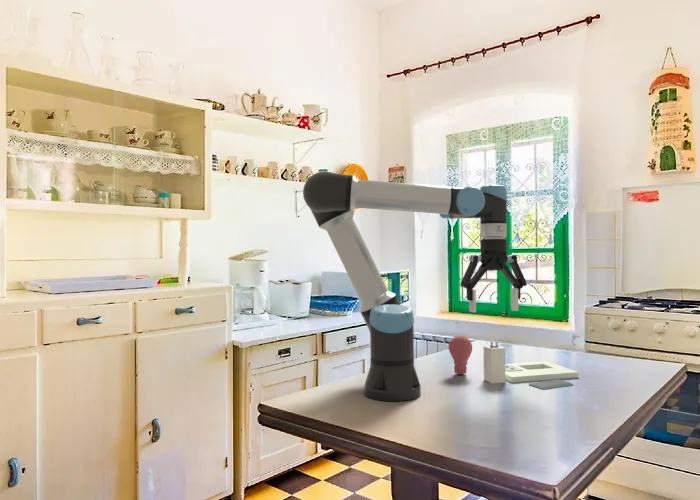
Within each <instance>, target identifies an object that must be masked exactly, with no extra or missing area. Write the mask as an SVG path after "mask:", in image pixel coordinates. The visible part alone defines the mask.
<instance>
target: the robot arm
mask: <svg viewBox="0 0 700 500" xmlns="http://www.w3.org/2000/svg"><path fill="white" fill-rule="evenodd" d="M507 194H508V193H507V188H506V186H505V185H501V184H488V185H487V184H486V185H482V186H481V187H480V188H478V187H475V186H466V187H465V186H464V187H459V186H448V185H447V186H446V185H432V184H420V183H419V184H418V183H410V182H409V183H405V182H395V181H394V182H392V181H380V180H368V179H367V180H366V179H357V177H356V176H355V175H350V174H342V173H335V172H331V171H319V172H316V173H314V174H312V175H311V176H309V178H308V179H307V180H306V182H305V183H304V186H303V189H302V195H303V200H304V203H305V204H306V205H307V207H308V208H309V209H310V211H311V214H312V215H313V217H314V219H315V222H316V223H317V225H318V228H319V229H322V230H325V231H326V232H327V234H328V237H329V238H330V241H331V243H332V245H333V247H334V249H335V251H336V253H337V254H338V257H339V260H340V261H341V263H342V265H343V268H344V269H345V271H346V275H347V276H348V278H349V279H350V281H351V284H352V286H353V288H354V291H355V292H356V293H357V297H358V298H359V300H360V302H361V306H360V310H359V312H360V314H361V316H362V318H363V321H364V323H365V325H366V327H367V328H368V331H369V338H370V342H369V344H370V366H369V370H368V373H367V376H366V379H365V382H364V386H363V387H364V388H363V389H364V390H363V391H364V395H365V397H367V398H369V399H372V400H375V401H383V402H402V401H411V400H414V399H417V398H419V397H420V396H421V394H422V390H421V389H422V388H421V384H420V380H419V377H418V374H417V371H416V368H415V357H414V356H415V353H414V352H415V348H414V347H415V346H414V344H415V343H414V342H415V341H414V333H415V332H414V324H415V318H414V311H413V309H411V308H410V307H409V306H406V305H402V303H400V300H399V298H398V297H397V294H396V293H394V292H392V291H389V290H388V287H387V285H386V283H385V281H384V279H383V277H382V275H381V273H380V271H379V269H378V267H377V264H376V263H375V261H374V259H373V256H372V254H371V253H370V251H369V248H368V246H367V244H366V242H365V240H364V238H363V236H362V234H361V232H360V230H359V227H358V226H357V224H356V222H355V219H354V214H355V211H356V210H355V208H356V209H366V210H367V209H369V210H383V211H396V212H399V211H400V212H410V213H411V212H412V213H422V214H423V213H424V214H439V217H440V218H442V219H449V220H453V219H480V221H479V223H480V238H481V240H480V245H479V246H480V255H476V254H472V255H470V256H469V257H470V260H469V263H468V265H467V268H466V270H465V273H464V274H463V278H462V279H461V280H460V281H461V282H460V285H459V286H460V287H461V288H464V289H466V301H468V302H469V303H468V311H469V312H471V313H477V290H476V289H474V288H475V287H476V286H477V284H478V283H479V282H480V280H481V279H482V277H483V276H484V275H485V273H487V272H488V271H501V272H502V274H503V275H504V276H505V278H506V279H507V280H508V282H509V283H510V285H512V286H513V287H511V288H510V310H511V311H514V312H515V311H516V312H517V311H519V300H521V289H523V287H526V286H527V285H528V283H527V281H526V279H525V277H524V274H523V272H522V269H521V268H520V266H519V263H518V258H517V257H518V256H517V255H516V254H509V255H507V251H508V241H507V239H506V237H508V236H507V235H508V225H507V224H508V223H507V222H508V221H507V220H508V218H507V217H508V215H507V214H508V211H507V209H508V198H507V197H508V196H507ZM479 262H481V264H480V266H479V267H478V269H477V270H476V268H477V265H478V264H479ZM507 262H508V263H509V266H510V268H511V270H512V271H511V270H510V268H509V266H508V265H507ZM475 270H476V272H475Z"/></svg>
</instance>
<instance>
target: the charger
mask: <svg viewBox="0 0 700 500" xmlns="http://www.w3.org/2000/svg"><path fill="white" fill-rule="evenodd" d="M505 364H506V347H504V346H501V345H499V341H497V340H496V341H495V345H494V341H490V345H484V346H483V381H486V382H487V383H489V384H493V385H494V384H504V383H506V380H505Z"/></svg>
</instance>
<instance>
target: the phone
mask: <svg viewBox="0 0 700 500" xmlns="http://www.w3.org/2000/svg"><path fill="white" fill-rule="evenodd" d="M528 385H529V386H530V387H534V388H537V389H540V390H544V391H545V390H551V389H556V388H563V387H570V386H571V387H572V386H574V383H572V382H569V381H566V380H563V379H552V380H542V381H535V382H531V383H528Z"/></svg>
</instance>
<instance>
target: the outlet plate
mask: <svg viewBox="0 0 700 500" xmlns="http://www.w3.org/2000/svg"><path fill="white" fill-rule="evenodd" d="M579 377H580V375H579V371H577V370H573V369H570V368H568V367H565V366H561V365H559V364H556V363H553V362H550V361H548V360H547V361H546V360H545V361H531V362H530V361H529V362H521V363H520V362H518V363H505V381H508V382H511V383H513V384H514V383H525V382H541V381H550V380H557V379H559V380H564V379H574V378H575V379H576V378H579Z"/></svg>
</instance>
